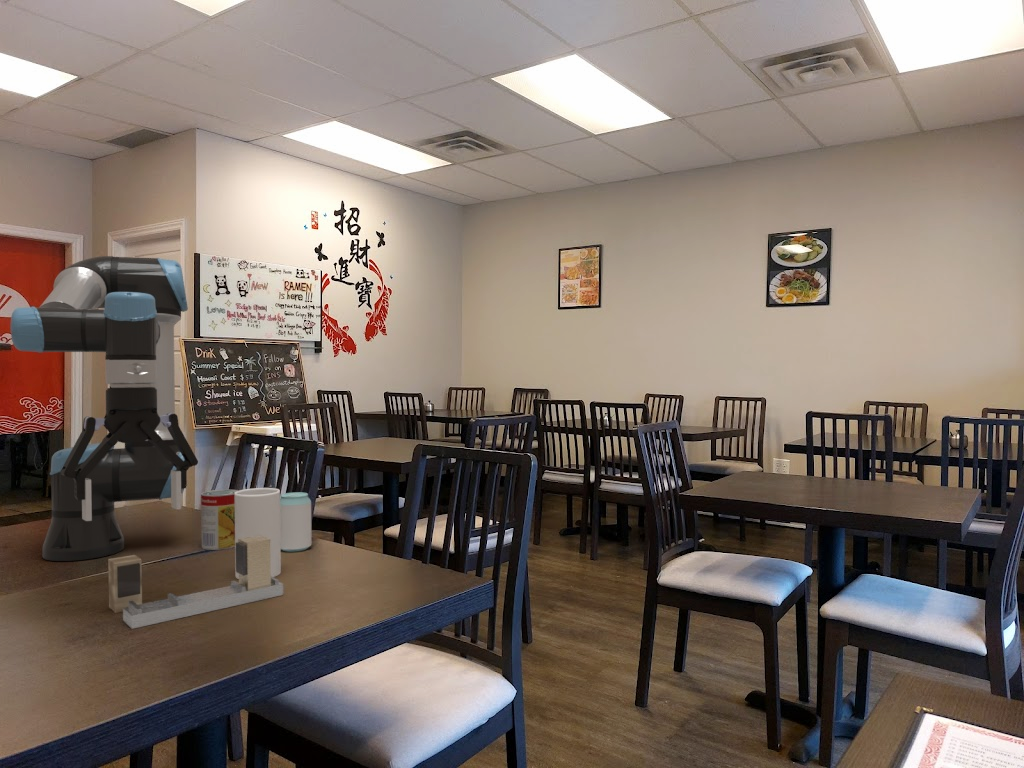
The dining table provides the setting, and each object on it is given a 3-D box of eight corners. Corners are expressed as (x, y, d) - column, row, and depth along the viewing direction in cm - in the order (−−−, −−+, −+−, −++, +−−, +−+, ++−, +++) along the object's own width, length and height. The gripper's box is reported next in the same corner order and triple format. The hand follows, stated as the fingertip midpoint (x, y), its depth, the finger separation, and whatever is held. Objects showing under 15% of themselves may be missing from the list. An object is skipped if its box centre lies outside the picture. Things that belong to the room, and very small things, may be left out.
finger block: (109, 607, 118) (108, 559, 118) (135, 601, 121) (134, 554, 121) (116, 614, 115) (115, 564, 115) (143, 608, 118) (142, 560, 118)
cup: (266, 581, 132) (265, 495, 132) (226, 579, 134) (225, 494, 134) (288, 569, 140) (287, 488, 140) (250, 567, 142) (250, 487, 142)
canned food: (246, 542, 163) (246, 490, 163) (225, 550, 155) (224, 495, 155) (216, 540, 165) (215, 488, 164) (193, 549, 157) (193, 494, 157)
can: (306, 552, 153) (305, 497, 153) (273, 552, 153) (272, 497, 153) (315, 544, 160) (314, 491, 160) (284, 544, 160) (283, 491, 160)
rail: (123, 620, 112) (122, 556, 112) (271, 588, 128) (270, 533, 128) (131, 628, 108) (130, 563, 108) (283, 594, 124) (282, 537, 124)
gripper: (48, 387, 107) (50, 528, 107) (216, 385, 124) (217, 506, 124) (38, 387, 112) (40, 521, 113) (200, 384, 130) (202, 501, 130)
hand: (133, 514), depth 119 cm, fingers open, 13 cm apart
